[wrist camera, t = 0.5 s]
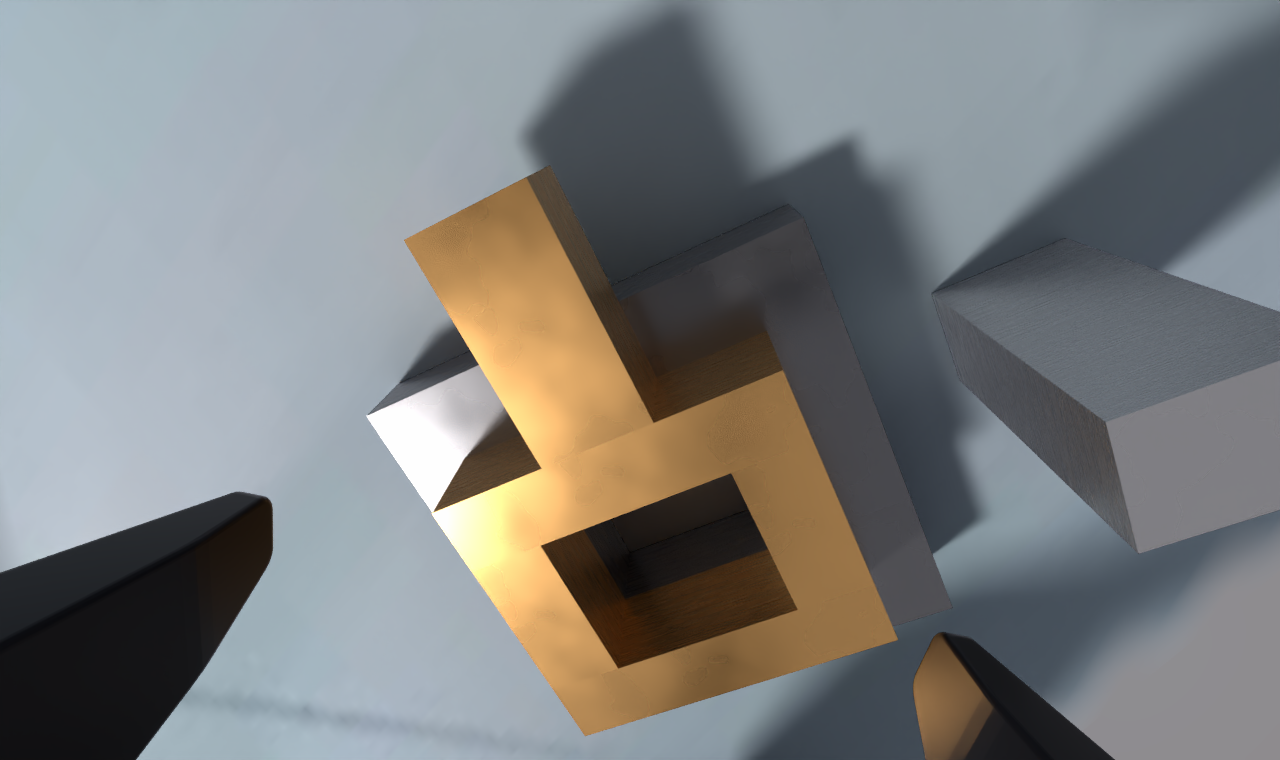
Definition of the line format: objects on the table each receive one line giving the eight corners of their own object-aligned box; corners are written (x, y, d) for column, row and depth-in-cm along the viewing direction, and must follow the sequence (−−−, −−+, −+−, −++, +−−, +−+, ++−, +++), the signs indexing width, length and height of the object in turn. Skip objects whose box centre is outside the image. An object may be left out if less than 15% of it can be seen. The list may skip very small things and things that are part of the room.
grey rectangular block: (1088, 331, 21) (1364, 483, 12) (960, 380, 22) (1138, 554, 13) (1065, 238, 20) (1350, 335, 11) (931, 293, 21) (1105, 422, 12)
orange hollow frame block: (926, 559, 24) (992, 680, 19) (586, 671, 27) (566, 802, 22) (736, 69, 18) (760, 56, 13) (328, 279, 21) (220, 334, 16)
